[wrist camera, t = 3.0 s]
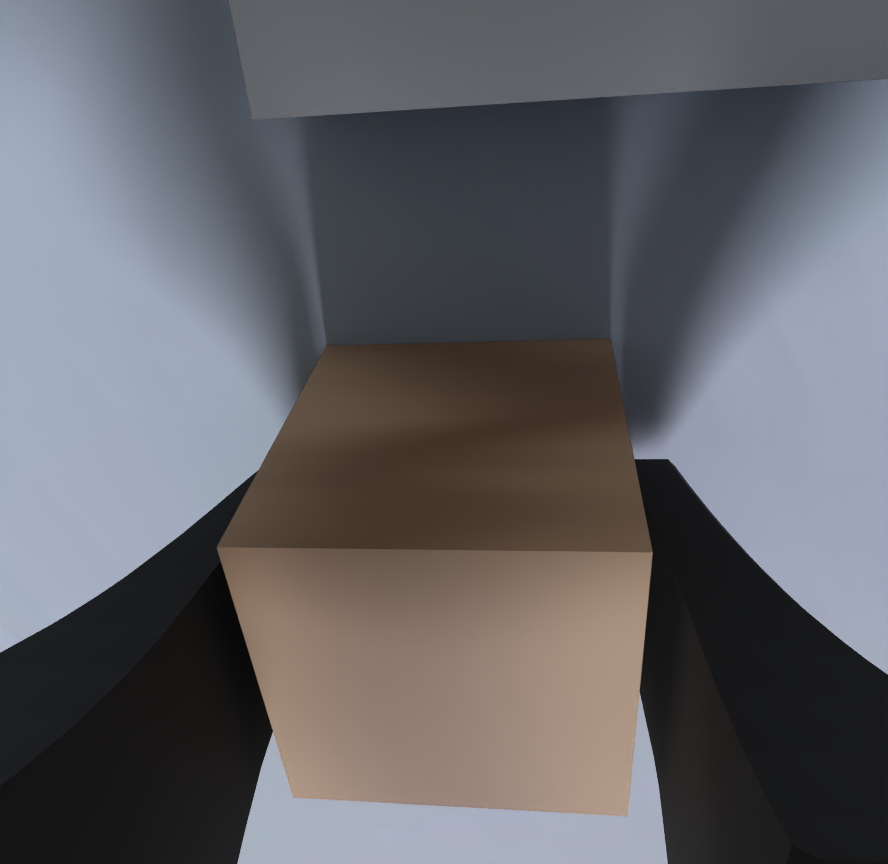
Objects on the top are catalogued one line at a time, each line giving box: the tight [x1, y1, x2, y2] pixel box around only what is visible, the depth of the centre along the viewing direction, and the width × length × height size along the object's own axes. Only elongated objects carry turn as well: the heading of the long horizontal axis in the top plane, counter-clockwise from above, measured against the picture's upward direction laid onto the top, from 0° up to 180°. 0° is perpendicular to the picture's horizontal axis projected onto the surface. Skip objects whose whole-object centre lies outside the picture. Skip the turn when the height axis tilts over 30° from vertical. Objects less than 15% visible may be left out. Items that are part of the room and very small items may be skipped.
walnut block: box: [217, 339, 653, 816], centre depth 11 cm, size 4×4×5 cm
